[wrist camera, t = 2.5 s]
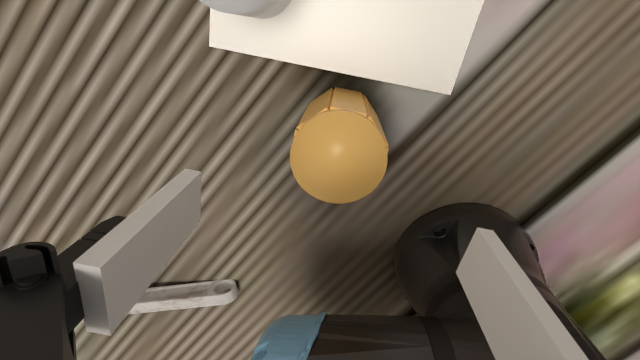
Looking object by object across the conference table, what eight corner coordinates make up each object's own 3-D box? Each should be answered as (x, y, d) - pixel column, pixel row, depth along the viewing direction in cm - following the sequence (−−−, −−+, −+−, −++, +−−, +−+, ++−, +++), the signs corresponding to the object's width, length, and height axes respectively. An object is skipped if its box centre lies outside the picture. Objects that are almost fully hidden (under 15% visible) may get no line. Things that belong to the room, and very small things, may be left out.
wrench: (244, 273, 45) (36, 296, 45) (241, 263, 44) (30, 286, 44) (231, 319, 38) (-16, 346, 38) (228, 308, 37) (-25, 335, 37)
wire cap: (366, 163, 33) (373, 211, 24) (301, 149, 33) (283, 193, 24) (384, 96, 30) (399, 123, 21) (312, 82, 30) (297, 103, 21)
